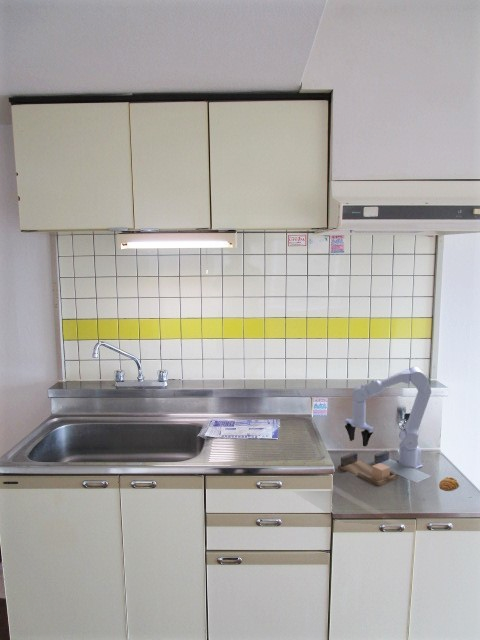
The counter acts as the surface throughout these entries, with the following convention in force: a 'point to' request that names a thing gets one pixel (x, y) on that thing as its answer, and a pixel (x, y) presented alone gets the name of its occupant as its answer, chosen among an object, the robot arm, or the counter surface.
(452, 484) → the pastry
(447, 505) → the counter surface
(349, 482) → the counter surface
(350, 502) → the counter surface
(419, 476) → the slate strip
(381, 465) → the terracotta block
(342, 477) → the counter surface
